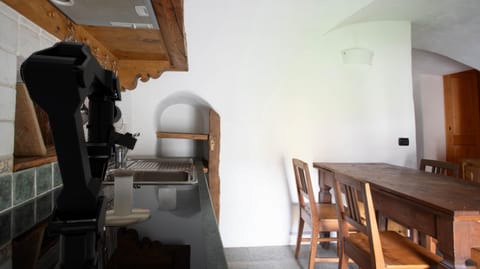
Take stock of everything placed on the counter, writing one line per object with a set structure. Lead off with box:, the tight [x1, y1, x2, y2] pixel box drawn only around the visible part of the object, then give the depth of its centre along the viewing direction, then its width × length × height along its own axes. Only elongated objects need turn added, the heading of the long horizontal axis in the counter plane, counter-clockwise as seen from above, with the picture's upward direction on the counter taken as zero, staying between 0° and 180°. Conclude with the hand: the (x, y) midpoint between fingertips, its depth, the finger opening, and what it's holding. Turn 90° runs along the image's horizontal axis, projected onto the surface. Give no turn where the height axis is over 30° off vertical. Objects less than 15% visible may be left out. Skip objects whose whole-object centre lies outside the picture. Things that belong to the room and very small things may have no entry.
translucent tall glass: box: [113, 168, 134, 217], centre depth 79 cm, size 5×5×14 cm
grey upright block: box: [158, 186, 177, 212], centre depth 90 cm, size 6×6×7 cm
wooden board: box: [92, 207, 152, 227], centre depth 78 cm, size 16×16×1 cm
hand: (99, 183), depth 63 cm, fingers open, 9 cm apart
